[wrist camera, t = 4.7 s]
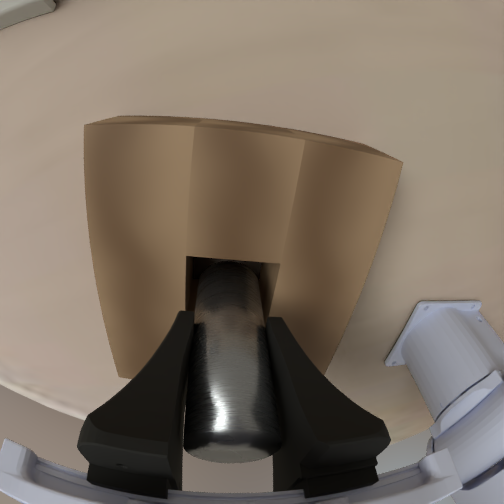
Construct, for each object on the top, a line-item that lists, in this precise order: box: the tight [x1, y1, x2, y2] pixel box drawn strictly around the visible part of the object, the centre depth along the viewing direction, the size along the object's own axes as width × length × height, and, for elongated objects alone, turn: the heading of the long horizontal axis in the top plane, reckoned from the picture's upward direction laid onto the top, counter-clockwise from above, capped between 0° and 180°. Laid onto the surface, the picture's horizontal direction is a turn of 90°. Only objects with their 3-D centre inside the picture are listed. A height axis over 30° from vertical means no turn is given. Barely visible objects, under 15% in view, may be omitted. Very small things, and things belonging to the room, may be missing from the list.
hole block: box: [84, 116, 403, 379], centre depth 17 cm, size 14×16×4 cm
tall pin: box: [183, 261, 282, 463], centre depth 12 cm, size 3×3×9 cm
